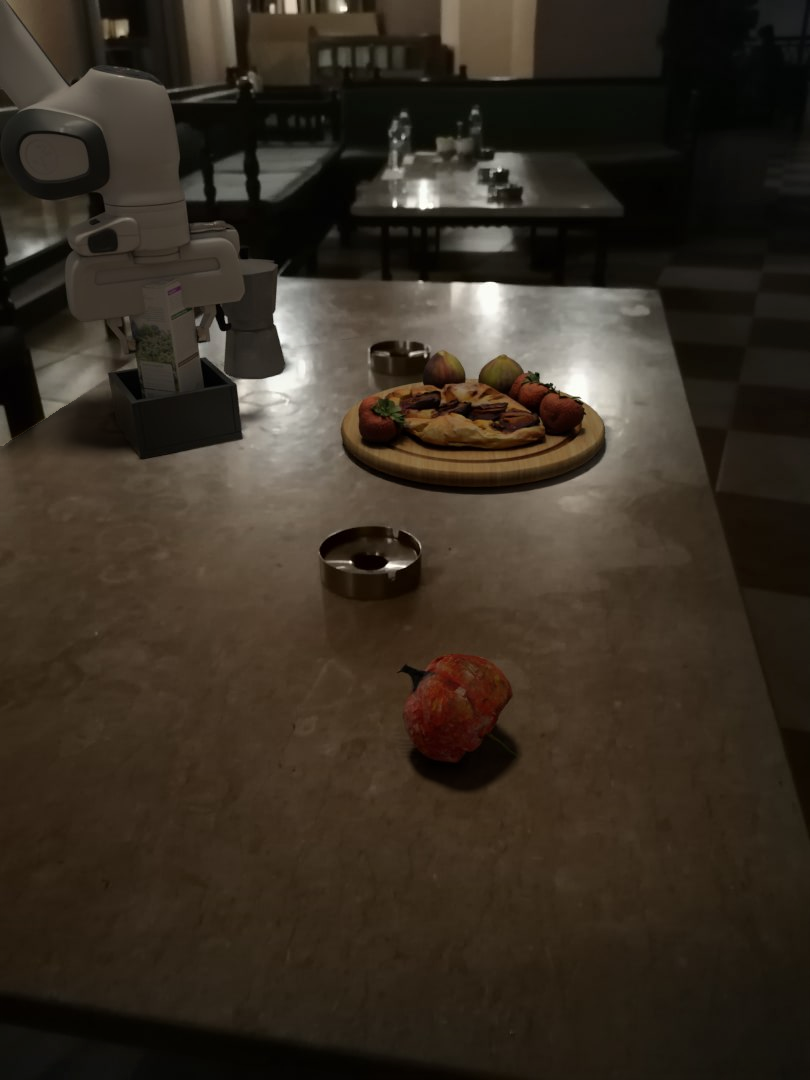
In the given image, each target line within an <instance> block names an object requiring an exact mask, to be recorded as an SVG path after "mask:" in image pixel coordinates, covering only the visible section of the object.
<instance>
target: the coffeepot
mask: <svg viewBox="0 0 810 1080" xmlns="http://www.w3.org/2000/svg"><path fill="white" fill-rule="evenodd" d="M249 253H250V246H248V245H245V244H241V245H240V251H239V254H238V256H239V258H238V259H239V262H240V266H241V270H242V275H243V280H244V287H245V292H244V294H243V296H242V298H241V299H240V300H239V301H235V302H228V303H220V304H215V305H216V315H215V318H214V319H215V321H216V324H217V326H218V328H219V330H220V332H225V341H224V342H225V343H224V345H225V346H224V362H223V373H226V374H227V375H228V374H229V375H228V376H229V377H232V376H233V377H232V378H236V379H243V380H258V379H265V378H271V377H274V376H276V375H279V374H280V373H282V372H283V371H284V370H285V366H286V359H285V356H284V353H283V348H282V344H281V340H280V336H279V333H278V329H277V328H278V327H277V325H276V324H275V320H274V314H275V312H276V308H277V307H276V306H277V294H278V293H277V292H278V291H277V290H278V278H279V277H278V276H279V275H278V274H279V264H277V263H275V260H272V259H271V260H270V259H260V258H258V259H257V258H250V257H249ZM226 320H227V322H226Z"/></svg>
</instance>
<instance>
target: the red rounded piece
mask: <svg viewBox="0 0 810 1080" xmlns="http://www.w3.org/2000/svg"><path fill="white" fill-rule="evenodd" d="M399 673H404V674H407V675H408V676H409V677H410V679H411V687H410V690H409V695H408V697H407V699H406V700H405V702H404V704H403V709H402V719H403V724H404V728H405V731H406V733H407V735H408V737H409V739H410V741H411V743H412V744H413V746H414V747H415V748H417V750H418V751H419V752H420V753H421V754H422V755H423V756H425V757H426V758H428V759H431V760H433V761H438V762H445V763H452V764H453V763H454V764H456V763H459V762H460V761H461V760H462V759H463V758H464V757H465V755H466V753H471V752H474V751H475V750H476V749H478V748H479V747H480V746H481V745H482V742H483V740H484V738H485V737H487V738H488V740H490V741H492V742H494V743H496V744H498V745H499V746H500V747H502V748H503V749H504V750H506V751H507V752H508V753H509V754H510V755H512V756H513V757H514V758H515V757H517V756H518V754H516V753H515V752H514V751H512V750H511V749H510V748H509V746H507V745H506V744H505V743H504V742H503V741H501V739H499V738H497V737H496V735H493V734H492V733H491V732H492V731H493V729H494V728H495V726H496V725H497V722H498V720H499V716H500V715H501V713H502V712H503V710H504V709H505V708H506V706H507V705H508V704H509V702H510V700H511V699H513V696H514V694H513V688H512V686H511V683H510V680H509V679H508V678H507V677H506V675H505V674H504V672H503V671H502V670H501V669H500V668H499V667H498V666H497V665H495V664H494V663H492V661H490V660H489V659H486V658H485V657H483V656H481V657H480V656H479V655H474V654H473V655H472V654H471V655H470V654H462V653H448V654H443V655H440V656H438V657H437V658H434V659H433V660H432V661H431V662H430V663H429V664H428V665H427V666H426V668H425V669H424V670H422V669H417V668H415V667H412V666H410V665H408V663H406V662H405V663H404V664H403V665H402V666H401V667H400V668H399V669H398V670H397V671H396V674H399Z"/></svg>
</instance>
